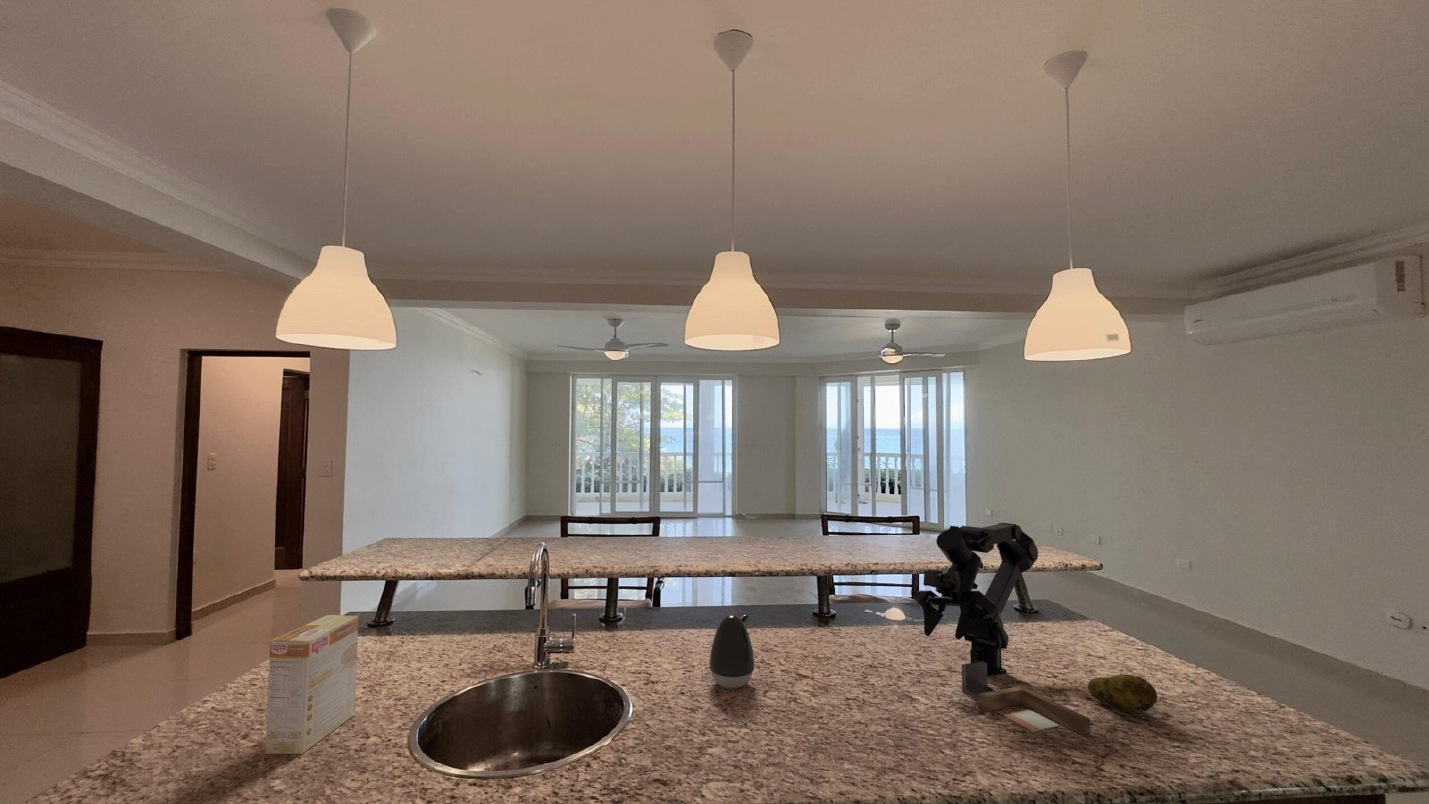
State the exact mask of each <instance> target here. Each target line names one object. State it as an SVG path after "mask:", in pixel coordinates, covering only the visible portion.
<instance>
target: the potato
mask: <svg viewBox="0 0 1429 804" xmlns="http://www.w3.org/2000/svg"><path fill="white" fill-rule="evenodd" d="M1087 689H1088V691H1089V694H1091V695H1092V696H1093V698H1095V699H1096V700H1098V701H1101V702H1102V703H1106V704H1108V705H1110V706H1112V707H1114V708H1117V709H1120V710H1124V711H1139V712H1148V711H1149V710H1150V709H1152V708H1153V707H1154V705H1155V704H1156V703H1157V701H1158V694H1157V691H1156V689H1155V688H1154V686H1153V685H1152V683H1150V682H1149V681H1147V680H1146V679H1145V678H1143V677H1142V676H1137V675H1134V674H1133V675H1132V674H1126V673H1125V674H1118V675H1117V674H1116V675H1115V676H1110V677H1094V678H1091V679H1090V680H1089V681H1088V683H1087Z"/></svg>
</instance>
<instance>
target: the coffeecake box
mask: <svg viewBox="0 0 1429 804" xmlns="http://www.w3.org/2000/svg"><path fill="white" fill-rule="evenodd" d="M358 632H359V615H342V614H327V615H324V616H322V617H320V618H318V619H316V620H313V621H311V622H309V623H307V624H304V625H302V626H300V627H298V628H296V629H293V630H291V631H289V632H287V633H285V634H283V635H280V636H278V637H276V638H274V639H271V640H269V655H268V656H269V659H268V661H269V662H268V681H267V683H268V685H267V704H266V705H267V706H266V709H267V710H266V728H265V730H266V731H265V735H266V736H265V752H264V753H265V755H266V754H267V755H268V754H269V755H280V754H282V755H303V754H304V753H306V751H308V750H310V749H311V748H312V747H313V746H315V745H316V744H317V743H319V742H320V741H321V740H323V739H324V738H325V737H327V736H328V735H330V734H331V733H332V732H333V731H335V730H337V729H338V728H339V727H340V726H342V725H343V724H344V723H346V722H347V721H348V720H350V719H351V718H353V717H354V716H355V715H356V693H357V692H356V691H357V689H356V688H357V669H358V668H357V666H358V663H357V660H358V642H359V641H358V637H359V636H358V635H359V634H358Z"/></svg>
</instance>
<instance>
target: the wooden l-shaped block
mask: <svg viewBox="0 0 1429 804" xmlns="http://www.w3.org/2000/svg"><path fill="white" fill-rule="evenodd" d="M977 700H978V701H977ZM977 700H976V701H977V710H978V711H980V712H982V713H988V712H992V711H996V710H1002V709H1006V708H1010V707H1016V706H1021V705H1023V706H1024V707H1026V708H1028V709H1029V710H1031V711H1033V712H1035V713H1036V712H1037V714H1039V715H1041V716H1043V717H1045V718H1047V719H1049V720H1051V721H1053V722H1055V723H1057V724H1060V725H1061V726H1063V727H1066V728H1067V729H1070V730H1071V731H1073V732H1076V733H1078V734H1079V735H1081V736H1083V737H1089V736H1091V719H1090V717H1087V716H1085V715H1083V714H1081V713H1079V712H1077V711H1075V710H1072V709H1070V708H1069V707H1066V706H1064V705H1062V704H1061V703H1058V702H1056V701H1053V700H1052V699H1050V698H1047V697H1046V696H1043V695H1041V694H1039V693H1037V692H1035V691H1033V690H1031V689H1028V688H1027V687H1024V686H1022V685H1020V684H1017V685H1014V686H1013V687H1009V688H1003V689H996V691H992V692H986V693H981V694H977Z"/></svg>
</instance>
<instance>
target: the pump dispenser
mask: <svg viewBox="0 0 1429 804" xmlns="http://www.w3.org/2000/svg"><path fill="white" fill-rule="evenodd" d="M748 618H749V616H748V614H743V615H742V616H741V617H739V616H738V615H734V614H729V615H726V616H725V617H723V618H722V619H721V621H720V623H719V624H718V626H717V628H716V631H715V634H714V637H713V640H712V643H711V649H710V654H709V662H708V663H709V665H708V666H709V667H708V668H709V671H710V673H711V677H712V678H713V680H714V682H715V683H716V684H717V685H719V686H721V687H722V688H725V689H732V690H734V689H740V688H743V687H744V686H746V685H747V684H748V683H749V682H750V680H751V679H752V676H753V673H754V671H755V657H754V650H753V645H752V642H751V637H750V634H749V632H748V629H747V626H746V624H745V622H746V621H747V620H748Z"/></svg>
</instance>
